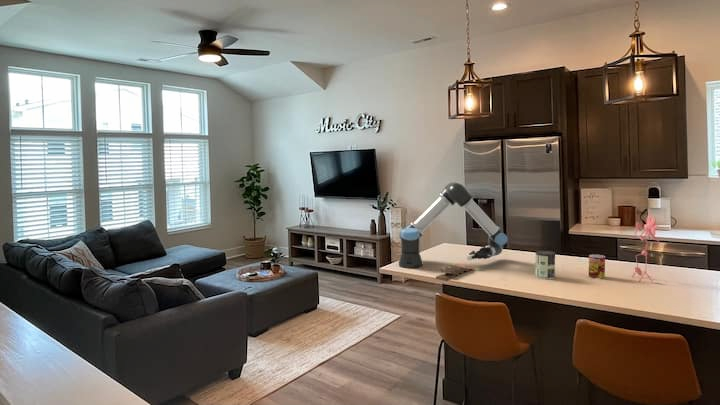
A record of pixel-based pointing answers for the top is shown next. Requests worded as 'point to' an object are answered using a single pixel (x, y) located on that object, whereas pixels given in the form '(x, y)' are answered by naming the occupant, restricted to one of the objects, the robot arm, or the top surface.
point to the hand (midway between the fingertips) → (468, 258)
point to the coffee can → (545, 265)
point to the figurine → (650, 230)
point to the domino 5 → (465, 266)
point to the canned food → (596, 266)
